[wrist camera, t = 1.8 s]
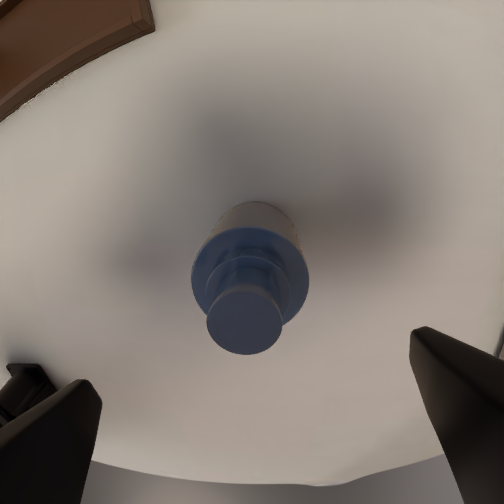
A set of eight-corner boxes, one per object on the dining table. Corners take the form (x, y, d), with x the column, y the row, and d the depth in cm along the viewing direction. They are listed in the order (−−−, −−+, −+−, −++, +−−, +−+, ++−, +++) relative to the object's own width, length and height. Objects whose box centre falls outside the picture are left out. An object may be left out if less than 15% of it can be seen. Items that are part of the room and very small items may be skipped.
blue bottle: (225, 288, 19) (198, 387, 10) (203, 213, 17) (148, 272, 9) (304, 272, 18) (328, 367, 10) (287, 192, 16) (306, 237, 8)
